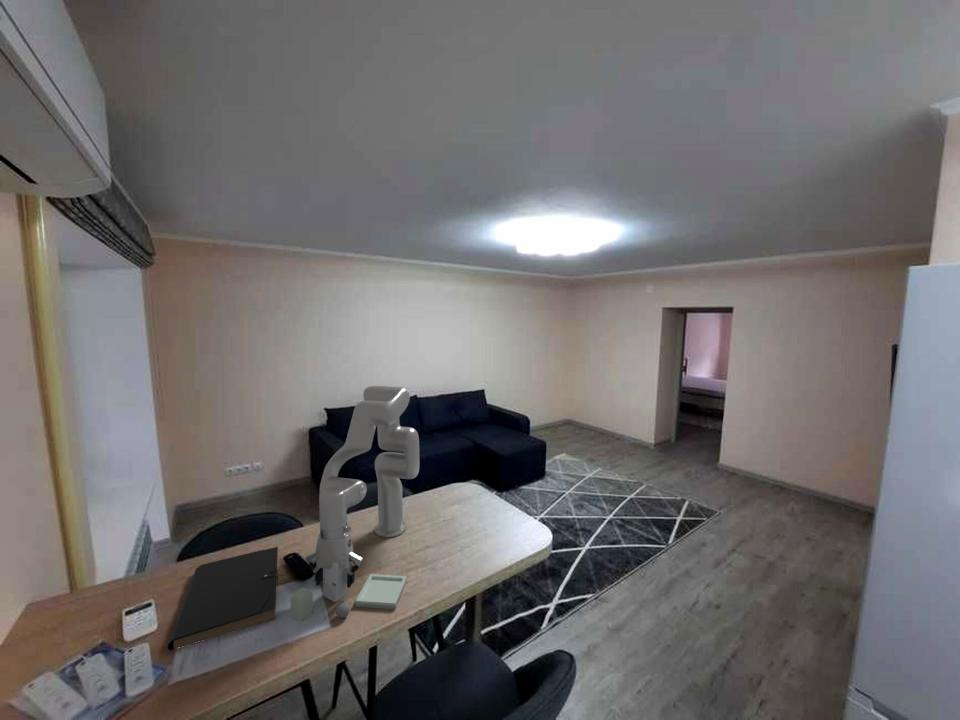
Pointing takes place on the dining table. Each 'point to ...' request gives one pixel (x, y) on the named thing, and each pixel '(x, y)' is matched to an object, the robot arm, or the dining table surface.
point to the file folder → (228, 597)
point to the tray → (381, 591)
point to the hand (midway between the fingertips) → (335, 583)
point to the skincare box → (334, 582)
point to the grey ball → (342, 610)
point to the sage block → (301, 603)
